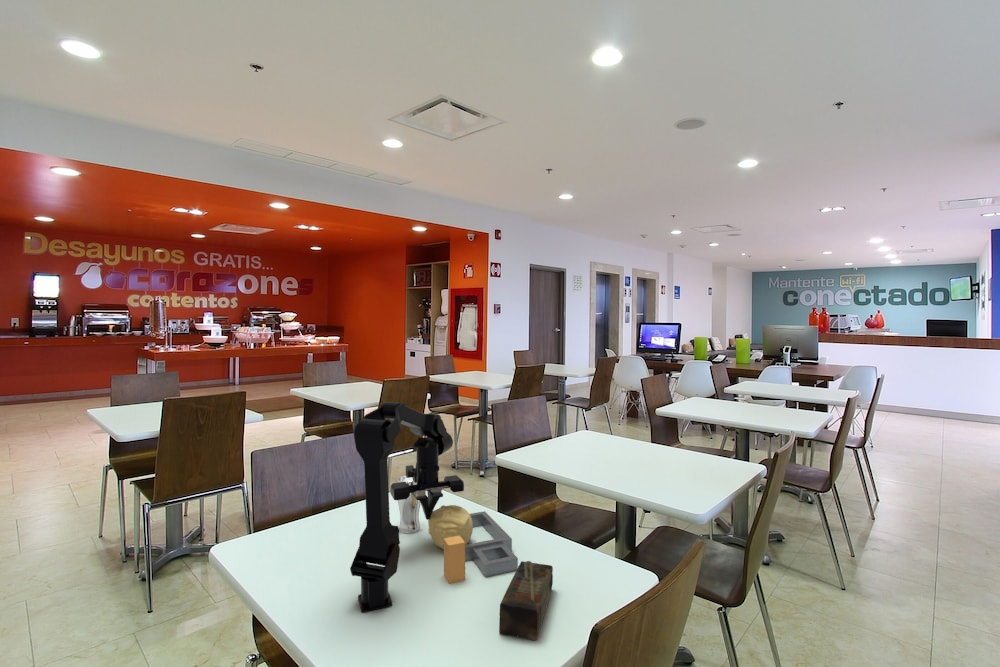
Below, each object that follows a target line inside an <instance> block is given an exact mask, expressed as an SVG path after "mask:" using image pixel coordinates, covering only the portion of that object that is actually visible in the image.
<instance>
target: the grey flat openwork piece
mask: <svg viewBox="0 0 1000 667" xmlns="http://www.w3.org/2000/svg"><path fill="white" fill-rule="evenodd" d="M469 514H470V516H471V518H472V522H473V528H476V527H483V528H484V529H485V531H486V532H487V533H488V535H490V536H491V537H492V538H493V539H490V540H489V539H488V540H484V541H477V542H473V543H467V544H466V545H465V562H468V561H472V562H473V563H474V564H475V565H476V566H477V568H478V570H479V571H480V572H481V574H482V575H483V577H484V578H487V577H493V576H498V575H503V574H506V573H512V572H516V570H517V569H518V566H519V565H518V564H519V560H518V559H519V558H518V556H516V554H515V553H514V552H513V538H512V537H511V536H510V535H509V534H508V533H507V532H506V531H505V530H504V529H503V528H502V527H501V526H500V525H499V524H498V523H497V522H496V521H495V520H494V519H493V518H492V517H491V516H490V514H488V513H487V512H486V511H478V512H471V513H469Z"/></svg>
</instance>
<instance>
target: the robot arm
mask: <svg viewBox="0 0 1000 667" xmlns="http://www.w3.org/2000/svg"><path fill="white" fill-rule="evenodd" d="M402 425H403V426H405V427H409V431H410V432H411V433H413V434H414V435H416V436H418V437H417V439H416V441H415V442H414V443H413V446H412V447H413V448H416V462H415V467H414V465H413V464H410V465H405V475H406V478H410V477H413V481H414V482H415V483H417V485H409V486H408V485H407V483H406V482H399V483H398V482H393V483H392V484H391V485H390V487H389V470H388V469H389V468H388V458H389V457H390V455H391V453H392V451H393V449H394V448H395V442H396V441H395V440H396V438H397V436H398V435H399V434H400V433H401V431H402ZM353 439H354V445H355V450H356V452H357V453H358V455H359V457H360V458H361V459H362V461H363V468H364V469H363V470H364V488H365V489H364V490H365V492H364V494H365V495H364V496H365V519H366V520H365V521H366V522H365V523H366V526H365V528H364V530H363V532H362V534H361V535H360V537H359V545H358V548H357V551H356V553H355V556H354V557H353V558H354V559H353V561H352V562H351V565H350V567H349V569H350V574H351V576H352V577H355V576H356V577H360V588H361V589H360V594H357V599H358V604H359V608H360V612H362V613H366V612H371V611H376V610H379V609H384V608H388V607H392V606H393V601H392V598H391V594H390V592H389V580H390V579H391V578H392V577H393V576H394V575H395V574H396V573H397V572H398V567H399V566H398V565H399V559H400V553H401V548H400V547H401V546H400V544H401V541H400V531H399V526H398V525H393V524H392V523H391V519H390V498H389V497H390V495H391V497H392V499H393V500H394V501H398V500H403V499H407V498H408V497H409V496H410V493H412V494H413V496H414V497H415V499H416V500H419V501H420V506H421V508H422V511H423V513H424V517H425V519H426V520H427V521H428V520H429V519H430V517H431V514H432V512H433V511H435V510H434V509H435V508H436V506H437V503H438V502H439V499H440V498H444V493H442V492H443V489H450V491H451V492H452V493H458V492H459V493H460V492H463V491H465V484H464V480H463V479H461V478H460V477H459V476H458V475H457V474H454V475H447V476H444V479H443V480H442V481H440V480H439V471H440V465H439V456H441V455H443V454H444V453H446V452H447V451H449V450H450V449H452V447H453V443H454V440H453V437H452V435H451V434H450V433H449V432H448V431H447V427H446V426H445V424H444V420H443V419H442V417H441V415H440V414H435V413H423V412H421V411H418V410H416V409H413V408H412V407H409V406H407V405H406V404H405V403H403V402H395V401H385V402H383V403H381V404H380V406H379V407H378V408H376V409H374V410H371V411H370V412H368V413H367V414H365V415H364V416H363V417H362V418H361V419H360V420H359V422H357V423H356V425H355V426H354V428H353ZM389 488H390V490H389ZM389 491H390V492H389ZM426 492H427V493H426ZM389 493H390V494H389Z"/></svg>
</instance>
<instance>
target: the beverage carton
mask: <svg viewBox="0 0 1000 667" xmlns="http://www.w3.org/2000/svg"><path fill="white" fill-rule="evenodd" d="M553 570H554V568H553V565H550V564H544V563H537V562H532V561H530V560H527V561H524V560H523V561H520V563H519V565H518V569H517V570H516V571H515V573H514V574H513V577H512V579H511V580H510V583H509V585H508V587H507V588H506V591H505V594H504V595H503V597H502V600H501V602H500V604H499V619H498V620H499V623H498V624H499V628H498V630H499V631H498V632H499V634H502V635H507V636H512V637H517V638H521V639H525V640H531V641H536V640H537V639H538V637H539V633H540V630H541V628H542V625H543V621H544V617H545V614H546V612H547V608H548V604H549V602H550V596H551V592H552V589H553V585H554V584H553V582H554V580H553V578H554V576H553Z"/></svg>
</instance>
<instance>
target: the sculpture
mask: <svg viewBox="0 0 1000 667" xmlns="http://www.w3.org/2000/svg"><path fill="white" fill-rule="evenodd" d="M470 514H471V513H470V512H469V511H468V510H467V509H465V508H463V507H462V506H461V505H456V504H455V505H454V504H449V505H444V504H443V505H441V506H440V507H439V508H437V509H435V510H433V512H432V514H431V517H430V519H429V520H427V521H428V522H427V524H428V534H429V535H430V537H431V540H432V541H433V543H434V544H435V545H436V547H438V548H440V549H442V550H444V538H449V537H454V536H460V537H461V538H462V539H463V541H464V542H465V545H466V544H469V541H470V540H471V538H472V535H473V528H474V527H473V522H472V518H471V516H470Z"/></svg>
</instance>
